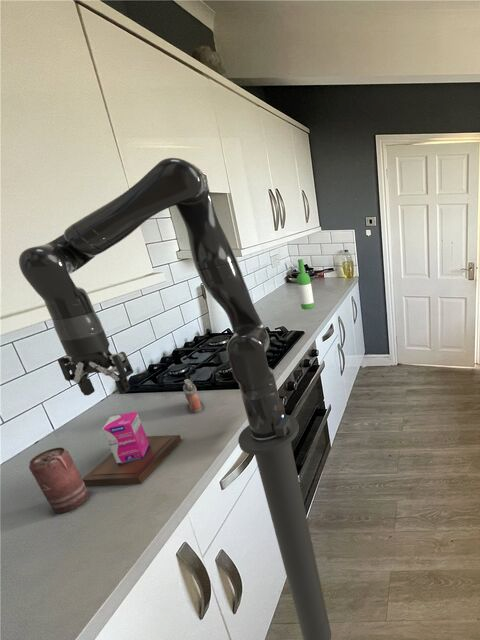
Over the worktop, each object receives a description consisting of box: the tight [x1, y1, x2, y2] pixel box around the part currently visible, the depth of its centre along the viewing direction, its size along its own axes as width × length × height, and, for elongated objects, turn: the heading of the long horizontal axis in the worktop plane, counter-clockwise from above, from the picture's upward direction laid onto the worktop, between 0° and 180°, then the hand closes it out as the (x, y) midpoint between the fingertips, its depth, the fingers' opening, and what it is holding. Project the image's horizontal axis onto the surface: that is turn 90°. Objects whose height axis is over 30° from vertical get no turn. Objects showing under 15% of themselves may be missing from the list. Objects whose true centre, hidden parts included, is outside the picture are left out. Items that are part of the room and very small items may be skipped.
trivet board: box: [82, 434, 182, 487], centre depth 93 cm, size 14×16×2 cm
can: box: [28, 447, 90, 514], centre depth 79 cm, size 6×6×14 cm
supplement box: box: [101, 411, 150, 464], centre depth 91 cm, size 6×6×12 cm
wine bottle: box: [296, 258, 315, 310], centre depth 210 cm, size 8×8×30 cm
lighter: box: [182, 378, 203, 414], centre depth 115 cm, size 8×3×10 cm, turn 43°
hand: (107, 392), depth 86 cm, fingers open, 8 cm apart
